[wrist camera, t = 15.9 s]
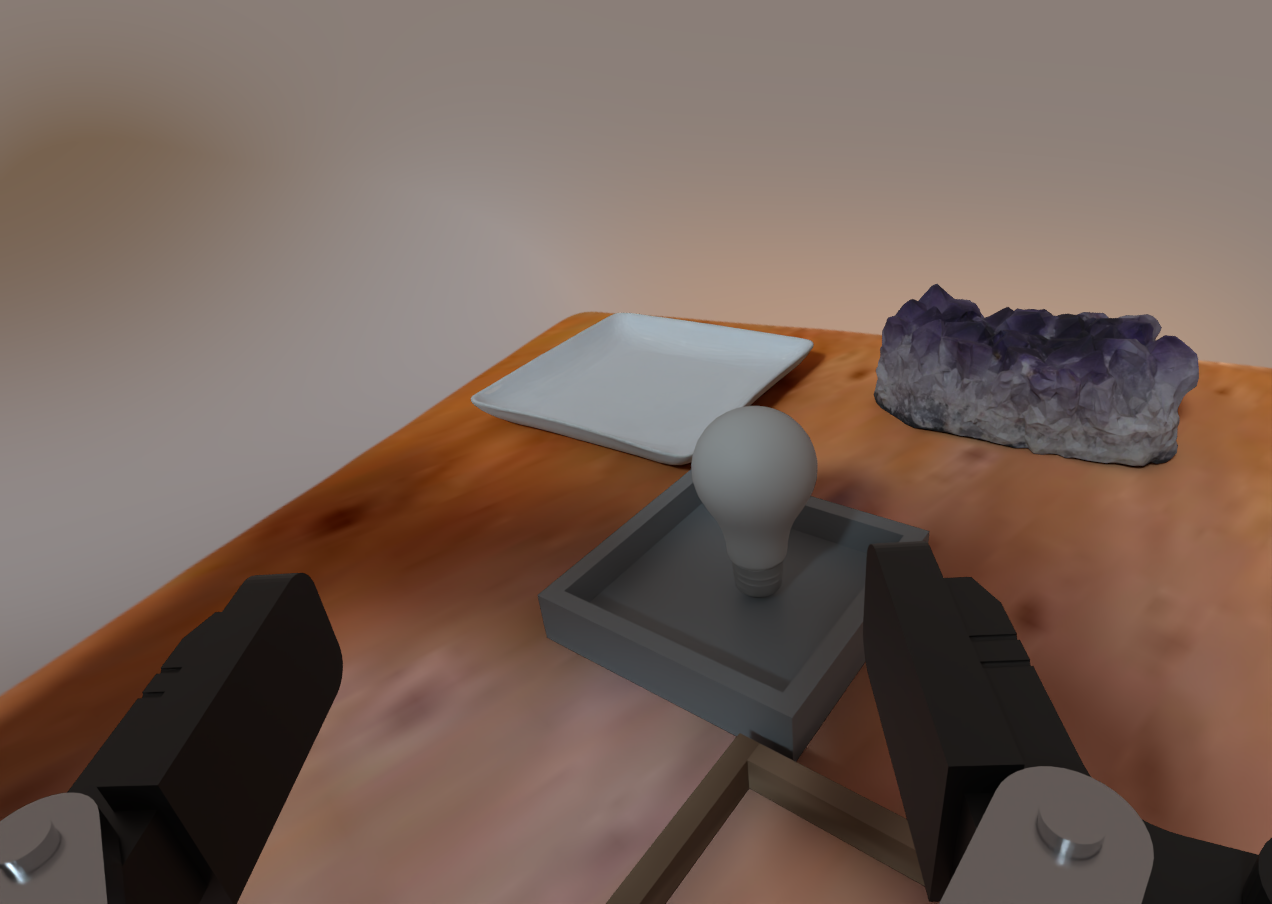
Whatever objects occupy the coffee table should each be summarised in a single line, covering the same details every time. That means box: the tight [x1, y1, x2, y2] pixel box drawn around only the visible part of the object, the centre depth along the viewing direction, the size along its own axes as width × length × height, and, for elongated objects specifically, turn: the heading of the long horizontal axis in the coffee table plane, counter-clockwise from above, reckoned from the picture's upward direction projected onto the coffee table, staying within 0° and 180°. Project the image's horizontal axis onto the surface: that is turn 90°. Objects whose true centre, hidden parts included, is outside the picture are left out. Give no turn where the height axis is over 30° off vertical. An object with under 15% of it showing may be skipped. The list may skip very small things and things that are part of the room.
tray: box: [538, 469, 929, 762], centre depth 43 cm, size 15×15×3 cm
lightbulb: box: [691, 406, 817, 597], centre depth 40 cm, size 6×6×11 cm
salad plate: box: [471, 313, 814, 465], centre depth 66 cm, size 21×21×3 cm
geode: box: [874, 284, 1199, 466], centre depth 55 cm, size 20×12×10 cm, turn 59°
